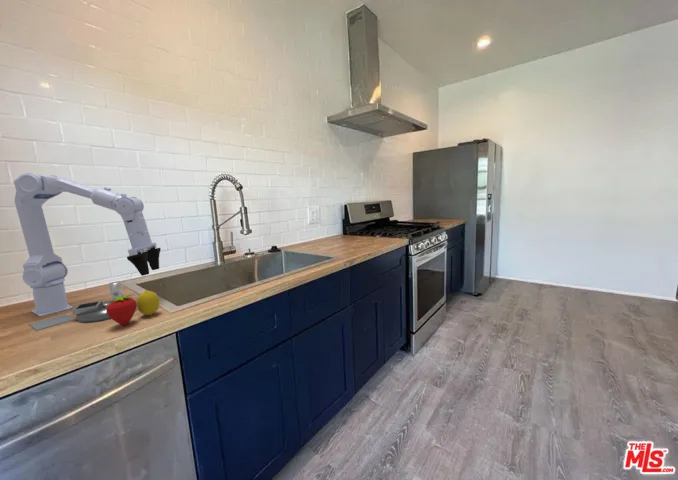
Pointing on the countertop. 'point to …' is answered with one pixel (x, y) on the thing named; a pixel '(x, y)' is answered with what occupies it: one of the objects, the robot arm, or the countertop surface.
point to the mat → (51, 322)
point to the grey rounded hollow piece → (91, 311)
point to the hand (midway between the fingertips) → (150, 272)
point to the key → (115, 289)
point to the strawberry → (121, 309)
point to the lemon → (148, 303)
